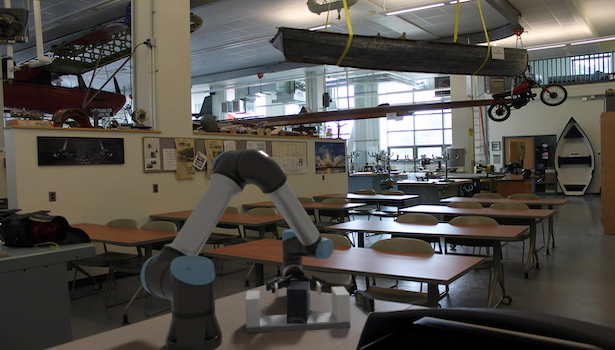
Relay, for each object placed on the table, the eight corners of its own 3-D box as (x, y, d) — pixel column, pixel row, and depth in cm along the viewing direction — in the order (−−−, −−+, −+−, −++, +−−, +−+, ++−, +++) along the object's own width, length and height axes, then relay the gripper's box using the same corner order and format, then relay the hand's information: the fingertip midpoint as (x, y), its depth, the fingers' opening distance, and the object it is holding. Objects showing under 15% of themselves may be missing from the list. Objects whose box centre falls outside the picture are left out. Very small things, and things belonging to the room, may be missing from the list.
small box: (307, 324, 132) (307, 288, 132) (286, 324, 133) (285, 288, 133) (311, 313, 143) (310, 280, 143) (291, 313, 144) (290, 280, 144)
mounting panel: (246, 332, 131) (246, 326, 131) (247, 321, 141) (247, 316, 141) (350, 326, 134) (350, 321, 134) (344, 316, 144) (344, 311, 144)
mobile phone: (353, 289, 161) (370, 299, 146) (361, 288, 162) (378, 298, 147) (353, 303, 161) (370, 314, 146) (361, 302, 161) (379, 313, 147)
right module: (337, 321, 134) (336, 295, 134) (332, 311, 144) (331, 287, 144) (350, 321, 134) (349, 294, 134) (344, 311, 144) (343, 286, 144)
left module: (246, 326, 131) (245, 299, 131) (247, 316, 141) (246, 291, 141) (260, 326, 132) (259, 298, 132) (260, 315, 142) (259, 290, 142)
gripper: (328, 285, 163) (337, 301, 142) (259, 288, 161) (258, 305, 140) (328, 264, 163) (337, 277, 142) (259, 267, 161) (258, 281, 140)
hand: (298, 291), depth 141 cm, fingers open, 13 cm apart
